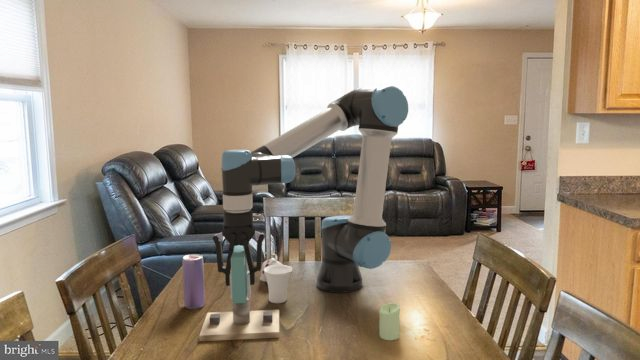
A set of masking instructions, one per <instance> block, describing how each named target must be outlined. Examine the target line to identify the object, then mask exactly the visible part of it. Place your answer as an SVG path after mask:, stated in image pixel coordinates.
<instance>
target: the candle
mask: <svg viewBox="0 0 640 360" xmlns="http://www.w3.org/2000/svg"><path fill="white" fill-rule="evenodd" d="M400 311H401V309H400V305H399V304H398V303H396V302H389V303H386V304H383V305H382V306H381V307H380V308H379V323H378V324H379V326H378V327H379V333H378V335H379V337H380V339H383V340H385V341H396V340H398V339H399V338H400V313H401V312H400Z"/></svg>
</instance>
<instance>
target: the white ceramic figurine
mask: <svg viewBox="0 0 640 360" xmlns="http://www.w3.org/2000/svg"><path fill="white" fill-rule="evenodd" d="M270 256H271V258H270V259H267V260H265V261H264V262H263V263H262V264H261V272H260V275H259V280H260V281H262V282H264V283H265V282H266V283H267V278H266V275H265V273H264V268H266V267H268V266H271V265H284V264H283V263H282V262H280V261H278V254H276V253H270Z"/></svg>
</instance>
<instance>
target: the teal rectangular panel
mask: <svg viewBox="0 0 640 360" xmlns="http://www.w3.org/2000/svg"><path fill="white" fill-rule="evenodd" d="M247 271H249V267H248V263H247V259H246V254H245V250H244V247H243V246H241V245H237V246H234V251H233V253H232V256H231V272H232V297H233V299H232V304H233V303H246V299H247V298H248V297H247Z"/></svg>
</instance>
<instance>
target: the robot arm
mask: <svg viewBox="0 0 640 360" xmlns="http://www.w3.org/2000/svg"><path fill="white" fill-rule="evenodd" d="M403 92H404V91H402V90H401V89H399V88H398V87H396V86H395V85H386V84H385V85H382V84H380V85H375V86H362V87H358V88H356V89H353V90H351V91H349V92H347V93H345V94H343V95H342V96H341V97H339V98H337V99H336V100H333V101H332V102H330V103H329V104H328V105H327V107H326V109H325V110H322V111H320V112H319V113H317V114H316V115H314V116H312V117H311V118H309V119H307V120H305V121H304V122H301V123H300V124H299V125H296V126H295V127H293V128H291V129H289V130H287V131H285V132H284V133H282V134H281V135H279V136H277V137H275V138H274V139H272V140H270V141H269V142H266V143H265V144H262V145H261V146H260V147H257V148H256V149H254V150H252V151H251V150H249V149H229V150H225V151H223V152H222V153H221V167H220V168H221V180H222V181H221V182H222V209H223V210H224V211H223V213H222V214H223V215H222V216H223V228H222V231H221V232H218V233H214V234H213V236H212V240H213V243H214V244H215V251H216V252H215V253H216V261H217V262H216V263H217V272H219V273H223V274H224V275H225V285H226V286H227V287H229V294H230V295H229V297H230V300H233V297H232V268H231V256H232V253H233V251H234V247H235V246H237V245H241V246H243V247H244V250H245V254H246V259H247V265H248V271H247V298H248V299H251V296H252V287H251V286H254V285H255V282H256V277H255V276H256V272H260V271H262V256H263V255H262V254H263V251H262V250H263V242H264V239H265V232H263V231H262V232H260V231H257V230H256V229H255V226H254V211H253V210H252V208H253V207H254V206H253V205H254V204H253V201H254V200H253V187H254V186H255V187H256V186H257V187H258V186H264V185H278V184H280V185H283V184H288V183H292V181H294V179H295V177H296V171H297V168H296V163H295V161H294V159H293V158H294V157H296V156H298V155H299V154H301V153H303V152H305V151H306V150H308V149H310V148H311V147H313V146H315V145H316V144H318V143H320V142H321V141H324V140H325V139H327V138H328V137H329V136H332V135H334V134H336V133H337V132H338V131H341V132H345V131H346V130H348V129H350V128H353V127H355V126H358V131H359V132H360V133H361V135H362V139H361V148H360V157H359V158H360V159H359V164H358V174H357V182H356V191H355V199H354V205H353V206H354V208H353V213H352V215H347V214H345V215H333V216H328V217H327V216H326V217H325V218H323V219H322V221H321V228H320V231H321V262H320V263H321V264H320V267H319V269H318V272H317V276H316V286H317V288H318V289H321V290H322V291H326V292H331V293H350V292H355V291H357V290H359V289H361V288H362V287H363V276H362V274H361V270H360V267H361V268H365V269H370V270H372V269H377V268H379V267H380V266H382V264H383V263H385V262H386V261H387V259H388V258H389V256H390V254H391V251H392V242H391V241H392V240H391V239H390V237H389V235H388V234H387V233H386V227H387V223H386V221H385V220H384V219H383V211H384V204H385V194H386V188H387V186H386V185H387V179H388V169H389V161H390V153H391V146H392V140H393V138H394V137H395V136H396V135H397V134H398V133H399V132H398V131H399V130H398V129H399V126H400V125H402V124H403V123H404V122H405V120H406V119H407V117H408V115H409V102H408V99H407V97H406V95H404V94H405V93H403ZM253 237H254V238H255V241H256V264H254V260H253V255H252V251H251V247H250V241H251V240H252V238H253ZM223 238H224V239H225V240H226V241H227V242H228V244H229V245H228V252H227V258H226V264H225V266H224V257H223V256H224V255H223V245H222V241H223Z"/></svg>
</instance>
